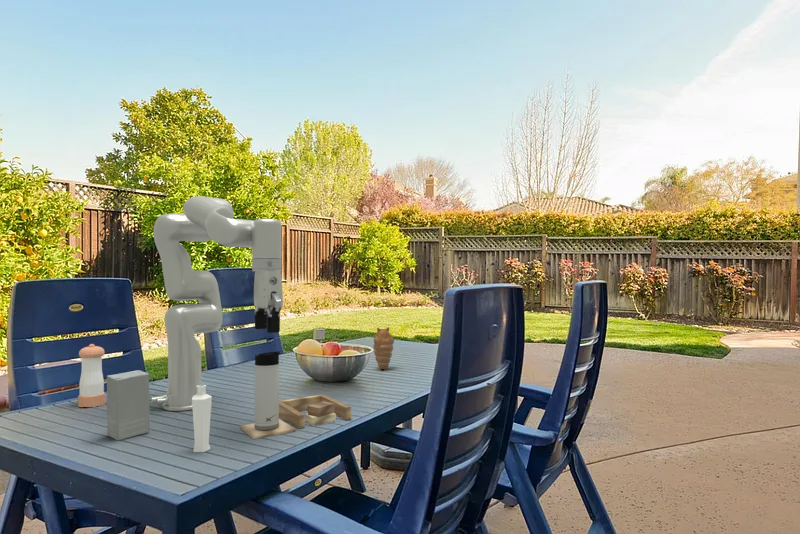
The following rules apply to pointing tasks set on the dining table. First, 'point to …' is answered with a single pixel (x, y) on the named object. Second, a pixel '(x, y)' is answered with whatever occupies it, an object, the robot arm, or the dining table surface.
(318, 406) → the offcut upper
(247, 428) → the cork mat
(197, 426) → the perfume bottle
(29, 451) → the dining table surface
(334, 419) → the offcut lower
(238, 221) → the robot arm
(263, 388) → the travel mug
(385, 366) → the cat ice cream
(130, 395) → the skincare box
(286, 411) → the frame
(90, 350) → the pepper shaker
